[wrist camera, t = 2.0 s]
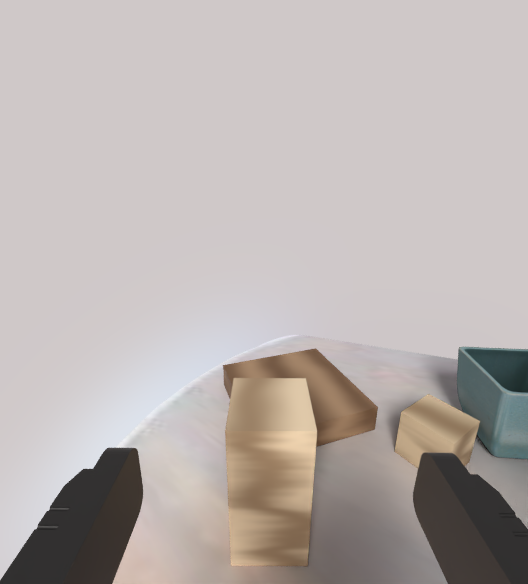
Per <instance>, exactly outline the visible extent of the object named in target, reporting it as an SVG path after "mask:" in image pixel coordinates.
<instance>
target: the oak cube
mask: <svg viewBox="0 0 528 584" xmlns="http://www.w3.org/2000/svg"><path fill="white" fill-rule="evenodd" d="M479 424H480V421H479V420H477V419H475V418H473V417H471V416H469V415H468V414H466V413H464V412H462V411H460V410H458V409H456V408H454V407H452V406H450V405H449V404H447V403H445V402H443V401H441V400H439V399H437V398H435V397H433V396H431V395H430V394H428V395H426V396H425V397H423V398H422V399H420V400H419V401H417V402H416V403H414V404H413V405H411V406H410V407H408V408H407V409H405V410H404V411H402V412H401V417H400V423H399V428H398V434H397V440H396V446H395V452H396V453H397V454H399V455H400V456H401V457H403V458H404V459H406V460H407V461H408V462H410V463H411V464H412V465H414V466H415V467H417V468H419V463H420V458H421V455H422V454H423V453H424V452H428V453H453V454H455V455H456V456H457V457H458V458H459V460H460V461H461V462H462V464H463V465H464V466H465V465H466V464H467V463H468V462H469V461H470V457H471V453H472V450H473V446H474V442H475V439H476V435H477V431H478V427H479Z"/></svg>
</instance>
